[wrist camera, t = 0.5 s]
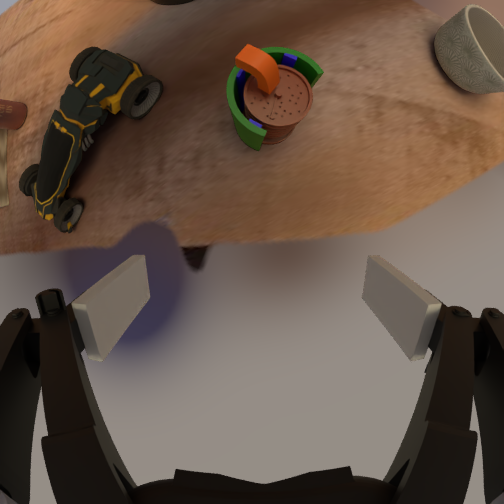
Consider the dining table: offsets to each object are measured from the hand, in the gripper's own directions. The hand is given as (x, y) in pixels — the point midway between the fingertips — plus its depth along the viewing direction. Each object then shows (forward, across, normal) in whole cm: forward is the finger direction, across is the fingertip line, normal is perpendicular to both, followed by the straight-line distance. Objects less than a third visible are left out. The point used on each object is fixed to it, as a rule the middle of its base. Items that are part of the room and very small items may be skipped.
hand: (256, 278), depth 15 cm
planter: (+28, +40, +34) cm, 59 cm away
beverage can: (+28, -50, +24) cm, 62 cm away
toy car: (+28, -30, +14) cm, 43 cm away
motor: (+27, +2, +14) cm, 31 cm away
